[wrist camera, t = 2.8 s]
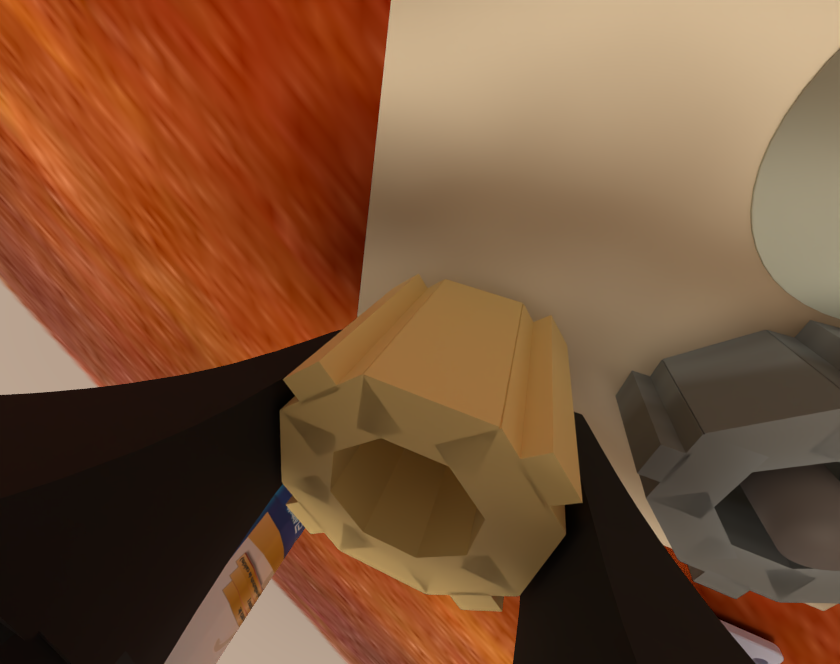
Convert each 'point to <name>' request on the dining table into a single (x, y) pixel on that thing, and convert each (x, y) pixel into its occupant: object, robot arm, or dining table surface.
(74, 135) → the dining table surface
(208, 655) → the blue pill bottle
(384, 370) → the ochre gear
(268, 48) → the dining table surface
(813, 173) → the gear board
